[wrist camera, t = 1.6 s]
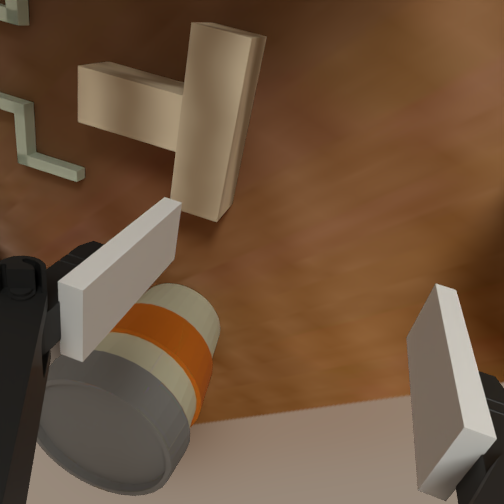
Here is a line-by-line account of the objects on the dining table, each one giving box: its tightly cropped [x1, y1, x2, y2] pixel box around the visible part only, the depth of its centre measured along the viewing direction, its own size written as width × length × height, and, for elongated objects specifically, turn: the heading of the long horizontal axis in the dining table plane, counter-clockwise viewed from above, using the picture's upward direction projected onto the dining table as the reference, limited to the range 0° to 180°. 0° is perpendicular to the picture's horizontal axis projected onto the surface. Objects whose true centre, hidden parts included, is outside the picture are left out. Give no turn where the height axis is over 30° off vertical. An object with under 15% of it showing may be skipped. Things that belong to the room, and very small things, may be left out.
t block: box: [78, 22, 267, 222], centre depth 32 cm, size 12×13×4 cm
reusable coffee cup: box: [37, 283, 220, 496], centre depth 38 cm, size 13×13×15 cm
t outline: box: [0, 0, 85, 182], centre depth 35 cm, size 14×17×1 cm
